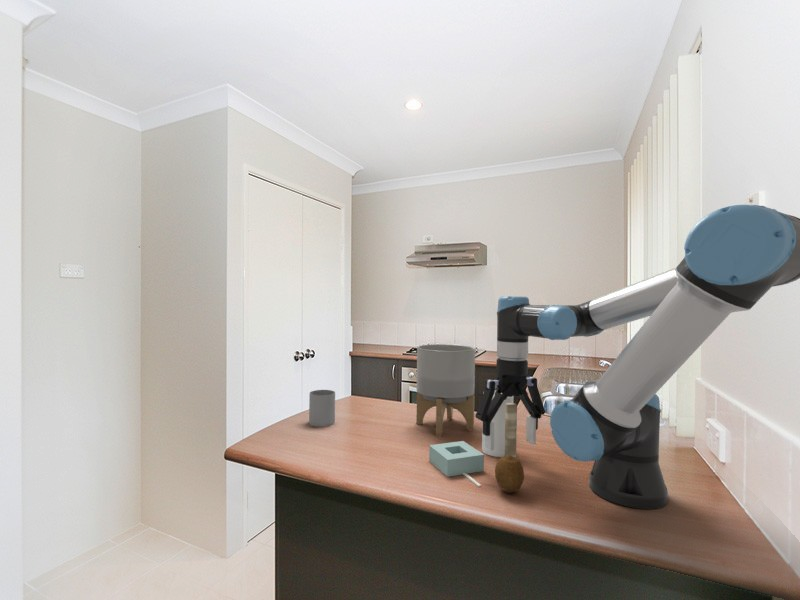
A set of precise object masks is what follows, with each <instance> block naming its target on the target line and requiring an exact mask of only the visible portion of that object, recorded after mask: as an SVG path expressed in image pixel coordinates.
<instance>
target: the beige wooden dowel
mask: <svg viewBox="0 0 800 600" xmlns="http://www.w3.org/2000/svg"><path fill="white" fill-rule="evenodd" d="M517 414H518V404H517V403H514V402H513V403H506V404H505V454H504V456H508V455H511V456H512V457H515V458H517V436H518V435H517V431H518V430H517V426H518V424H517V423H518V415H517Z"/></svg>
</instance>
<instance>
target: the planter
mask: <svg viewBox="0 0 800 600" xmlns="http://www.w3.org/2000/svg"><path fill="white" fill-rule="evenodd" d="M416 347H417V348H416V420H415V421H416V425H421V424H422V423H423V424H424V418H425V415H426V414H427V412H428V411H429V410H431V409H432V408H434V407H435V411H436V412H435V436H437V435H438V436H439V437H441V436H442V435H443V424H444V417H445V412H446V420H447V419H452V420H453V416H454V414H453V412H454V411H453V409H455V410H456V411H458V412H459V413H460V414H461V415H462V416H463V418H464V420H465V422H466V423H465V424H466V426H467V427H466V429H467V431H472V430H473V431H474V429H475V390H476V389H475V385H476V383H475V381H476V380H475V378H476V374H475V373H476V347H474V346H470V345H464V344H463V345H462V344H455V343H454V344H453V343H447V344H446V343H429V344H420V345H418V346H416ZM423 424H422V425H423Z"/></svg>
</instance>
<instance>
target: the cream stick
mask: <svg viewBox="0 0 800 600" xmlns="http://www.w3.org/2000/svg"><path fill="white" fill-rule="evenodd" d="M462 475H463V476H464V477H465V478H466V479H468V480H469V481H470V482H472V483H473V484H474V485H476V487H478V488H479V487H482V484H481V483H479V482H478V481H477V480H475V479H474V477H471V476H470V475H469V473H467V474H466V473H463V474H462Z"/></svg>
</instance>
